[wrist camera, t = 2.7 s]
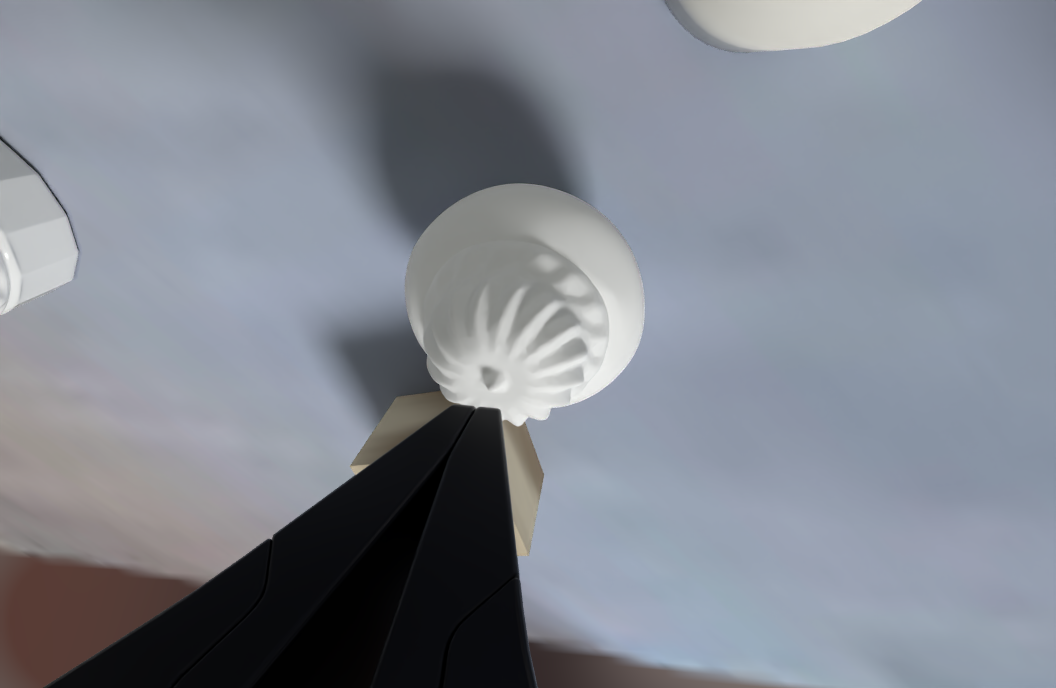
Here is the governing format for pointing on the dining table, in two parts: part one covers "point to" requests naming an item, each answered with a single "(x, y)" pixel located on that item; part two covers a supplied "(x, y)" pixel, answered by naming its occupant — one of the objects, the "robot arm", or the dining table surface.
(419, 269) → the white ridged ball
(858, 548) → the dining table surface
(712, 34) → the white rounded lump
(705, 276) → the dining table surface
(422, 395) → the maple block
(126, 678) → the robot arm
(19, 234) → the white cup
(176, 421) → the dining table surface
